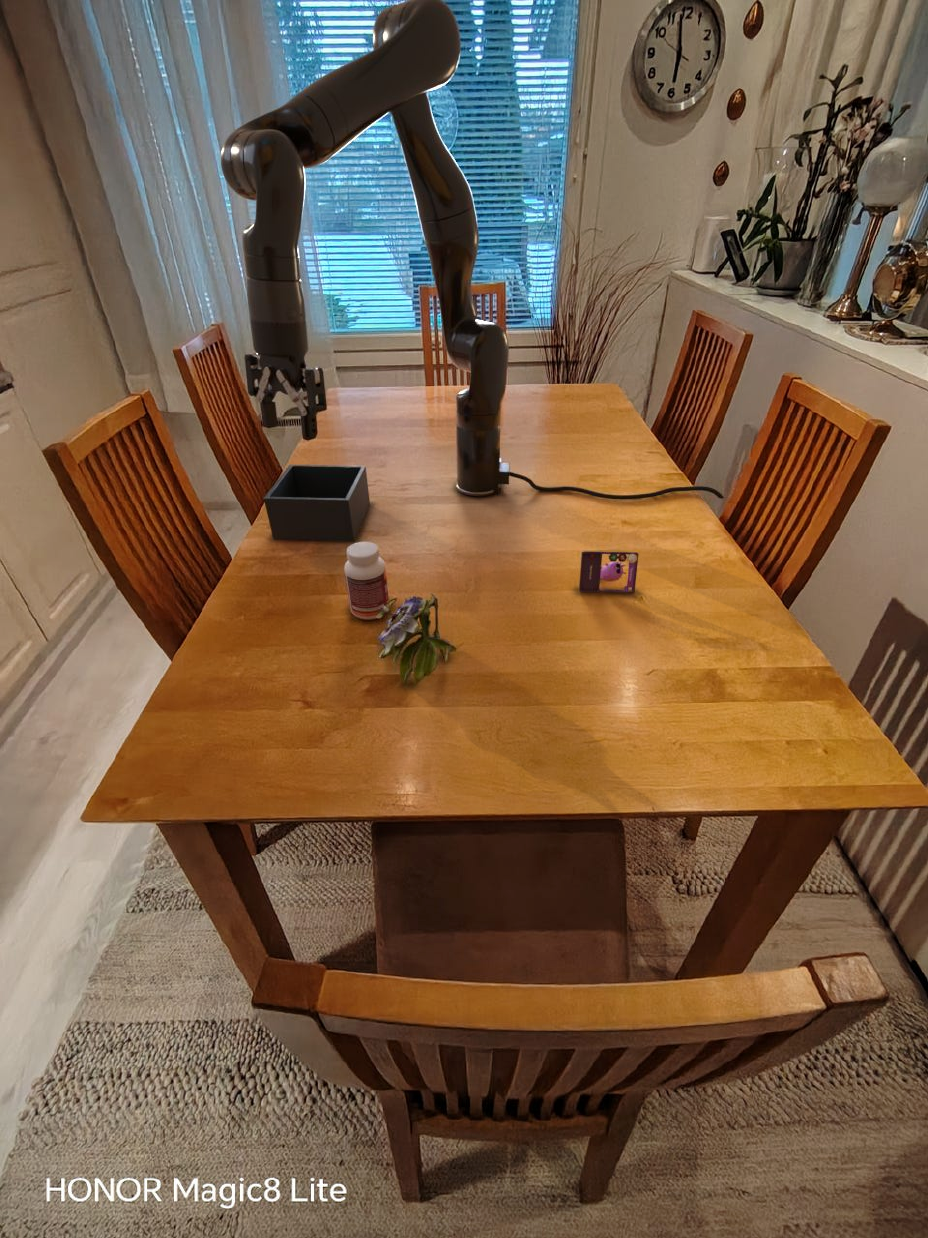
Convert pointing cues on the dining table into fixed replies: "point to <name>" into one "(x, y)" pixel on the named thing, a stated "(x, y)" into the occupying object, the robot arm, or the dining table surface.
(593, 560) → the game card
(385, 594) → the pill bottle
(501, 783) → the dining table surface
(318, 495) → the open storage bin
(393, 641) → the passion flower
